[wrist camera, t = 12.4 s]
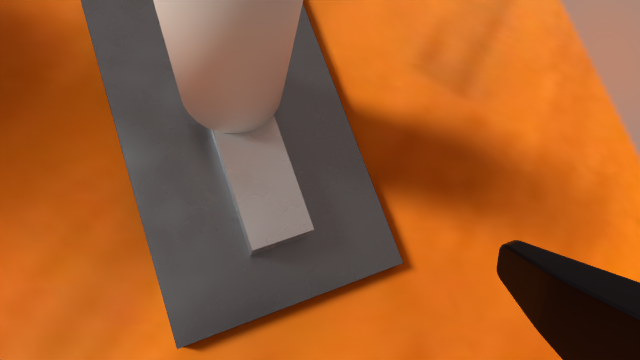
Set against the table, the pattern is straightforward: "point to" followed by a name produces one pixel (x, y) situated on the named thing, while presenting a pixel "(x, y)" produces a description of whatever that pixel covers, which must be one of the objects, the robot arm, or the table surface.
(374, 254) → the ridge plate
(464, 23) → the table surface
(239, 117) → the off-white dowel
